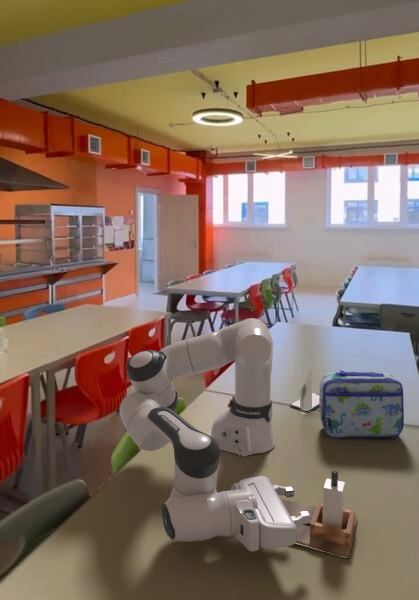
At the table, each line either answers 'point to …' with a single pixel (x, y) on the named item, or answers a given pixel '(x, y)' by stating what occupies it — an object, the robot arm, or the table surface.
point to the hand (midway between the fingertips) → (301, 503)
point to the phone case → (314, 403)
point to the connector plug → (333, 501)
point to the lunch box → (361, 404)
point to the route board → (323, 529)
